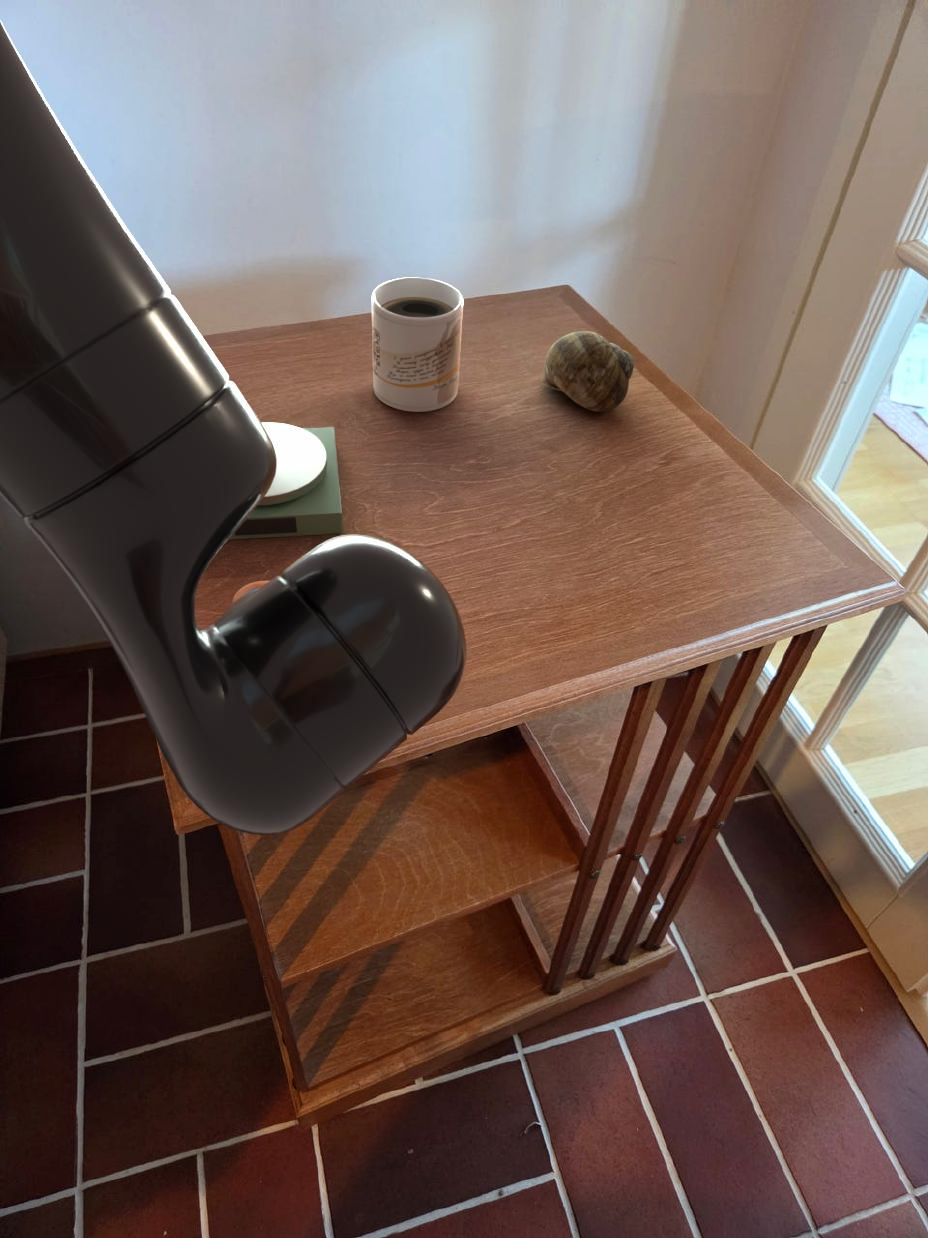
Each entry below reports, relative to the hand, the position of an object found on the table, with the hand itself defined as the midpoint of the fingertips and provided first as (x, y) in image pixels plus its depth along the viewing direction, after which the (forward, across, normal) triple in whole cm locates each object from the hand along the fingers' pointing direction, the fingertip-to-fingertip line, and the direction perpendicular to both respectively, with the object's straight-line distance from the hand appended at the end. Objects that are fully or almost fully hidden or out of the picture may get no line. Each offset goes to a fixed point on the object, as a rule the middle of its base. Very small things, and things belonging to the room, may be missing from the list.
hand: (269, 645), depth 59 cm
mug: (+35, -24, -25) cm, 49 cm away
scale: (+23, -4, -14) cm, 27 cm away
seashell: (+30, -42, -20) cm, 55 cm away
